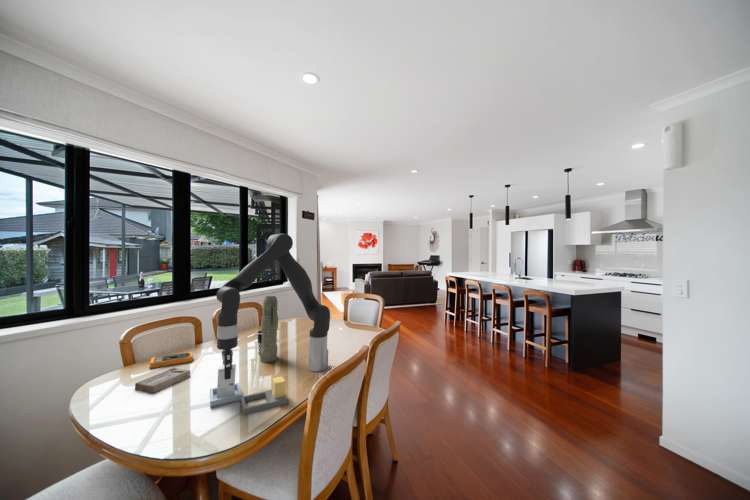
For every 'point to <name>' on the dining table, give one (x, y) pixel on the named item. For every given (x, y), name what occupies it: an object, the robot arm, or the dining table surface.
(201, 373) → the dining table surface
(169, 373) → the box
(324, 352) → the robot arm
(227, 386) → the skincare box
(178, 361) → the multimeter
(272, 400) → the block
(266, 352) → the thermos
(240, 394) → the tray
